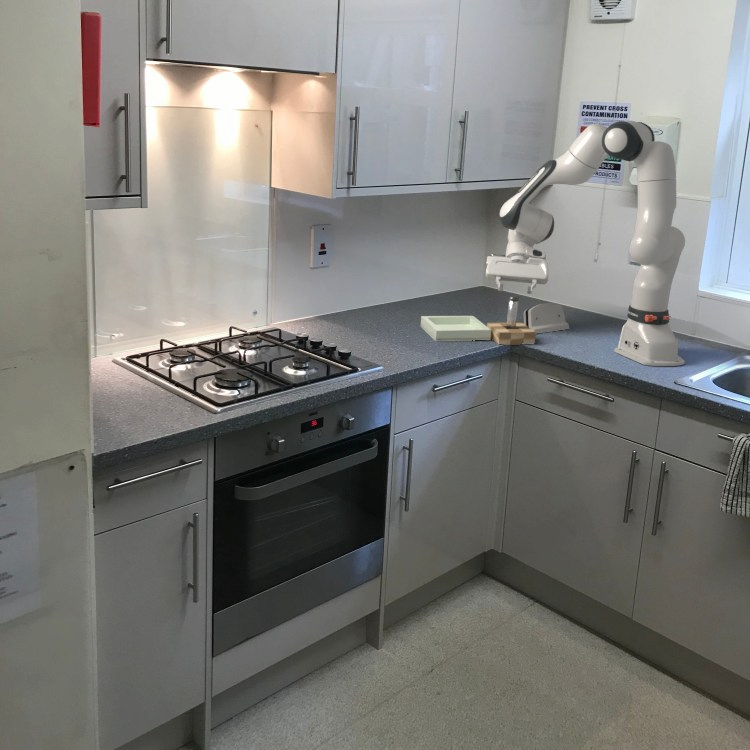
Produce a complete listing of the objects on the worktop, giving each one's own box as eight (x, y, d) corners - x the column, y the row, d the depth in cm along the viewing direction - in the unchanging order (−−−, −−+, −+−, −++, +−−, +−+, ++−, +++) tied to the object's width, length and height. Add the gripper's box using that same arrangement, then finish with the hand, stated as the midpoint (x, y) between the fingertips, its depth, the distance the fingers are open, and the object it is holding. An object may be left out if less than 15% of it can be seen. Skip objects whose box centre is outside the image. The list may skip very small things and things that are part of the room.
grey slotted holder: (534, 334, 294) (529, 304, 294) (524, 336, 298) (520, 306, 298) (570, 329, 303) (566, 300, 303) (560, 330, 307) (556, 301, 307)
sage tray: (490, 340, 285) (491, 330, 283) (435, 341, 281) (436, 330, 279) (472, 325, 301) (473, 315, 300) (420, 326, 297) (421, 316, 296)
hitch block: (534, 344, 283) (535, 332, 282) (498, 345, 280) (499, 332, 279) (520, 334, 294) (521, 322, 293) (485, 334, 291) (486, 322, 290)
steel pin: (516, 340, 286) (520, 298, 282) (506, 341, 285) (511, 298, 281) (512, 338, 289) (516, 295, 285) (503, 338, 288) (507, 295, 284)
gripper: (487, 248, 295) (482, 283, 289) (550, 253, 291) (547, 288, 285) (487, 259, 300) (482, 293, 294) (549, 264, 297) (545, 299, 291)
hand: (514, 291), depth 290 cm, fingers open, 8 cm apart
